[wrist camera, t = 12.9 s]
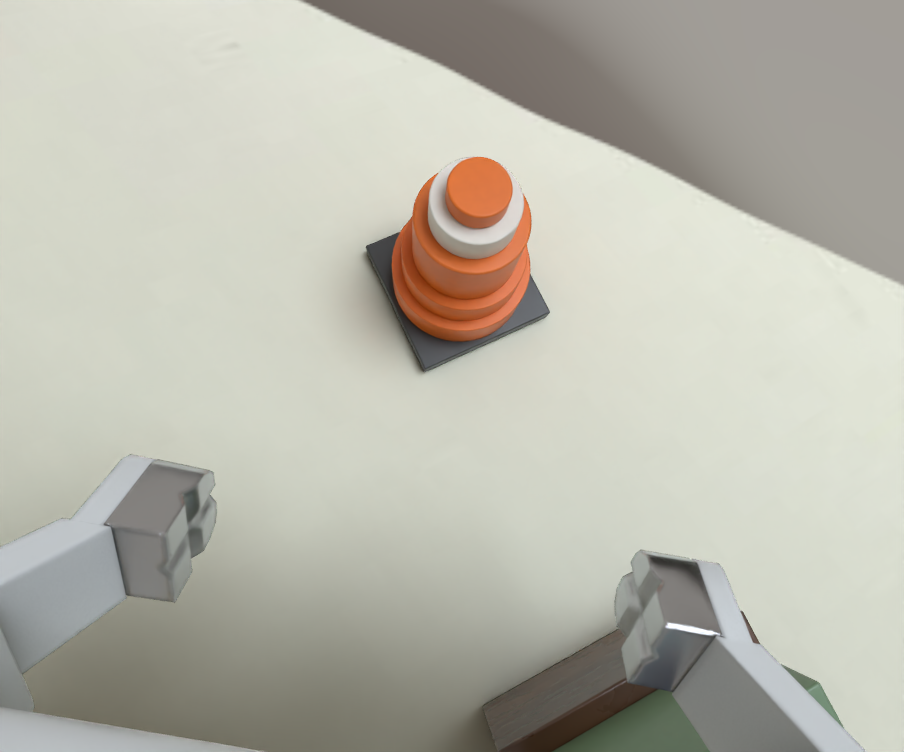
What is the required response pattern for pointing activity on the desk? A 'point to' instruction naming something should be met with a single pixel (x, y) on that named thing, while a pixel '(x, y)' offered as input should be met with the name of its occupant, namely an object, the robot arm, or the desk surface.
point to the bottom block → (566, 699)
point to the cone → (461, 262)
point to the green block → (662, 725)
